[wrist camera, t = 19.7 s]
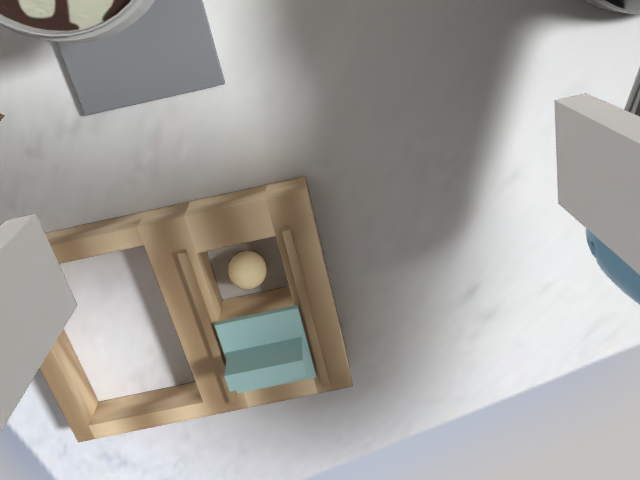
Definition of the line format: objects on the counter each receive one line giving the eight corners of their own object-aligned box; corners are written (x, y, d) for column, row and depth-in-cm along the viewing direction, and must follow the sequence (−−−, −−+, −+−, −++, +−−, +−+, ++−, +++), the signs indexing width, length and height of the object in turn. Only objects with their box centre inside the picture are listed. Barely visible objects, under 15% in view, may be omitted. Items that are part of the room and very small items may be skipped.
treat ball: (262, 241, 47) (260, 258, 44) (271, 273, 48) (270, 291, 45) (225, 248, 47) (221, 266, 44) (235, 281, 48) (232, 299, 46)
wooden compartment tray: (305, 176, 45) (306, 192, 41) (349, 364, 52) (353, 391, 49) (1, 242, 46) (-20, 264, 42) (88, 417, 53) (75, 447, 50)
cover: (297, 304, 46) (298, 330, 43) (316, 373, 49) (318, 401, 46) (215, 322, 46) (210, 348, 43) (238, 389, 49) (235, 418, 46)
